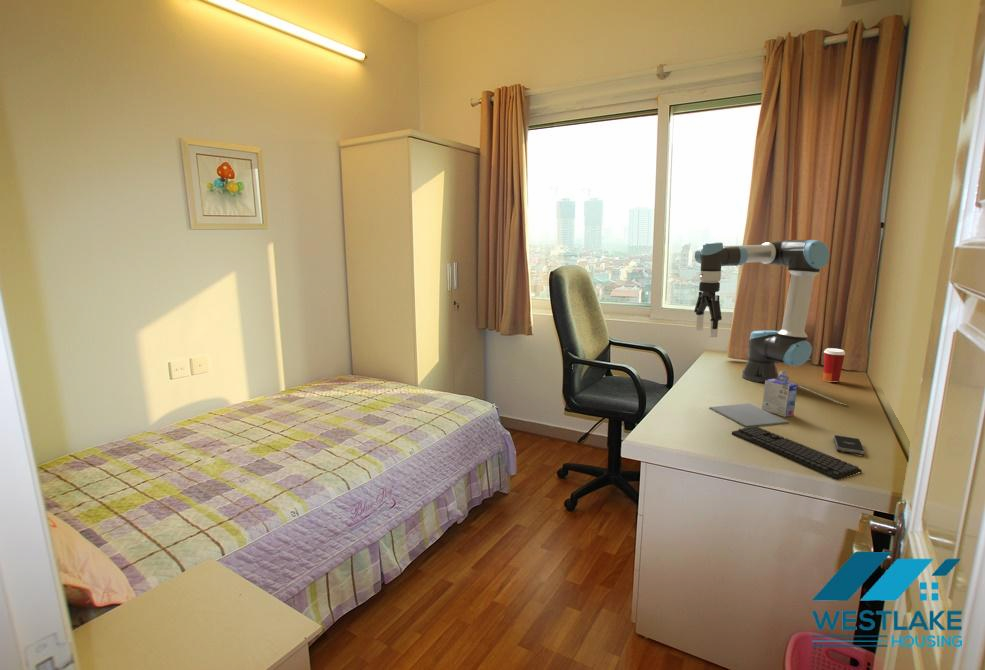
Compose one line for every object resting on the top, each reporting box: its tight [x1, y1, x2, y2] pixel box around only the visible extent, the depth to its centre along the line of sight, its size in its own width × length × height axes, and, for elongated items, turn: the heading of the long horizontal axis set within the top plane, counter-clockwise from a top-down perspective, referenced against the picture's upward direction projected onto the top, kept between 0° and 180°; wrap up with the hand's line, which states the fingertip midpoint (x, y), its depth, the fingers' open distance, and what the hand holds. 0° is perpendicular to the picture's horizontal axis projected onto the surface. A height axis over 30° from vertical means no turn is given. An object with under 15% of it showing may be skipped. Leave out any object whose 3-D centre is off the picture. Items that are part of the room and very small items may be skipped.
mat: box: [709, 403, 790, 428], centre depth 185 cm, size 18×20×1 cm
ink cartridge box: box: [761, 374, 799, 418], centre depth 187 cm, size 10×6×14 cm, turn 27°
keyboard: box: [731, 426, 862, 481], centre depth 154 cm, size 35×11×2 cm, turn 23°
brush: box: [778, 369, 846, 406], centre depth 203 cm, size 4×28×9 cm, turn 29°
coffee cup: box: [822, 347, 846, 382], centre depth 225 cm, size 8×8×15 cm
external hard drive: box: [833, 434, 866, 456], centre depth 157 cm, size 7×11×2 cm, turn 151°
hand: (705, 333), depth 200 cm, fingers open, 13 cm apart
